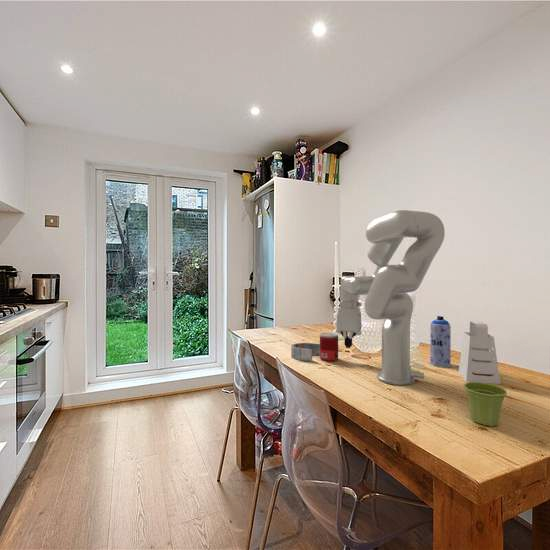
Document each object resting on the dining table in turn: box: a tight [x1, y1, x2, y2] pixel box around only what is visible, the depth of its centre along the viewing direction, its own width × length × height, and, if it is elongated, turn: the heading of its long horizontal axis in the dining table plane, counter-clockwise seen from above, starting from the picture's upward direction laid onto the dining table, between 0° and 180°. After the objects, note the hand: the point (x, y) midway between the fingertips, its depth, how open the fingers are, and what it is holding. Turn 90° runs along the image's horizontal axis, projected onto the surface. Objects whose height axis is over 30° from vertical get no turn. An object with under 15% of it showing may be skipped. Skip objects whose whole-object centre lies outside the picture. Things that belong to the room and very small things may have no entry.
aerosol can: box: [429, 315, 452, 368], centre depth 137 cm, size 8×8×20 cm
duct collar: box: [290, 342, 320, 362], centre depth 150 cm, size 11×13×5 cm
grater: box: [457, 320, 501, 385], centre depth 120 cm, size 10×10×20 cm
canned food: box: [319, 332, 339, 363], centre depth 145 cm, size 8×8×11 cm
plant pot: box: [463, 382, 508, 426], centre depth 86 cm, size 9×9×9 cm
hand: (348, 347), depth 142 cm, fingers closed
